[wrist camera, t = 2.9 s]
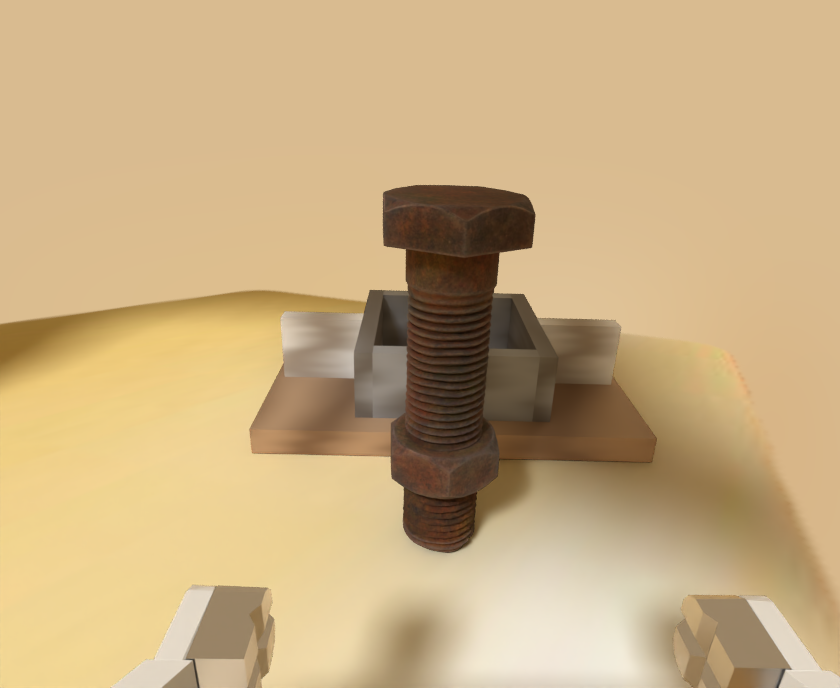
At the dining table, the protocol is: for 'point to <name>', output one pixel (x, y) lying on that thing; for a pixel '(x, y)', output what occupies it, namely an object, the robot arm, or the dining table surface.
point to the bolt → (448, 348)
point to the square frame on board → (505, 383)
